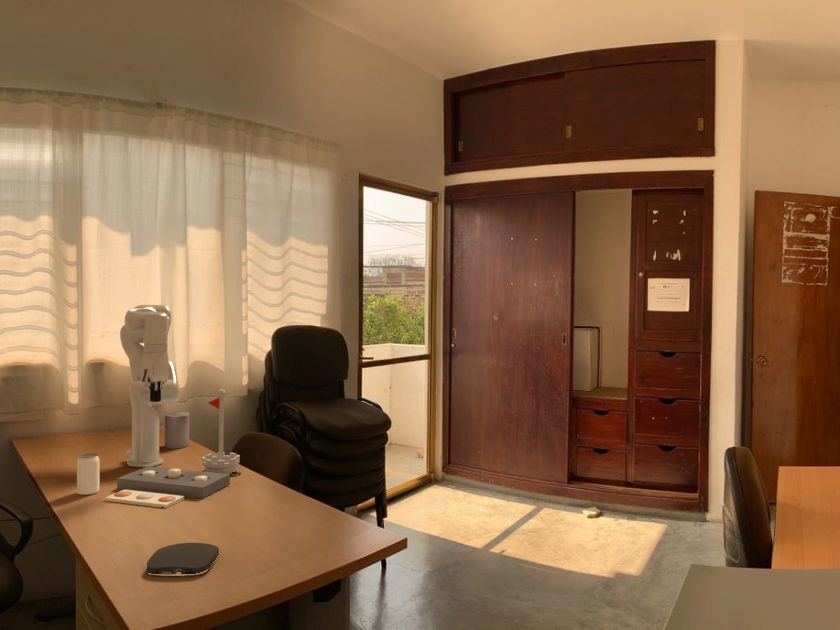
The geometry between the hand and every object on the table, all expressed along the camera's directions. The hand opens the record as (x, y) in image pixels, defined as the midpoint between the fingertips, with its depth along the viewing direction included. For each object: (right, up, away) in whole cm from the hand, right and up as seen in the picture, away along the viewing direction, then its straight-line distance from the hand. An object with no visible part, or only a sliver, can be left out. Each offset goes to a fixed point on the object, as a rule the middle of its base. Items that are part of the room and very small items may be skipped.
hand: (155, 401), depth 227 cm
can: (-15, -28, -16) cm, 35 cm away
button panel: (+10, -28, -8) cm, 30 cm away
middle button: (+10, -25, -8) cm, 28 cm away
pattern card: (+6, -28, -22) cm, 36 cm away
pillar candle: (-11, -26, +49) cm, 56 cm away
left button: (0, -26, -5) cm, 27 cm away
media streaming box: (+35, -31, -69) cm, 83 cm away
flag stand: (+19, -27, +12) cm, 35 cm away
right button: (+19, -27, -10) cm, 35 cm away
